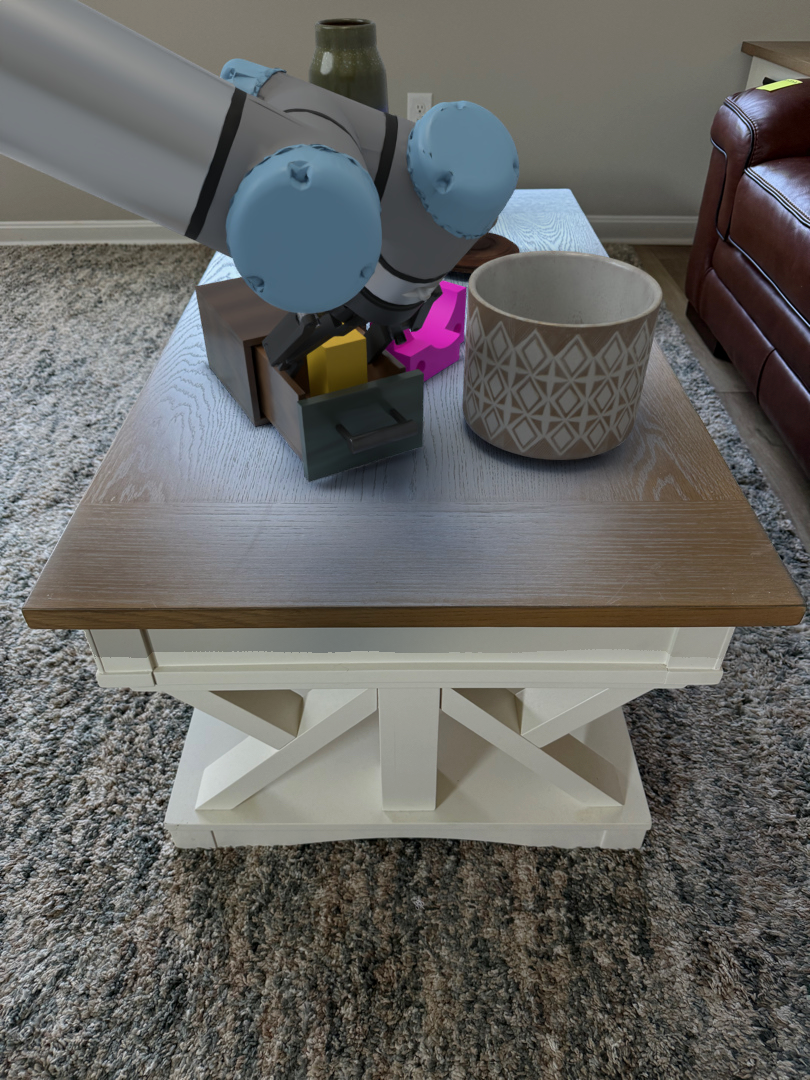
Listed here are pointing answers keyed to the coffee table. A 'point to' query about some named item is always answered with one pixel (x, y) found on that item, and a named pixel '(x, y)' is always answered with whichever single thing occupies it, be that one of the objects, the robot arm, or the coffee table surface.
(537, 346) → the planter
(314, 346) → the robot arm
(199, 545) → the coffee table surface
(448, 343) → the toy block
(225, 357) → the cabinet
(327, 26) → the vase
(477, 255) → the brown rounded piece
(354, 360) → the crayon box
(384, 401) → the drawer
